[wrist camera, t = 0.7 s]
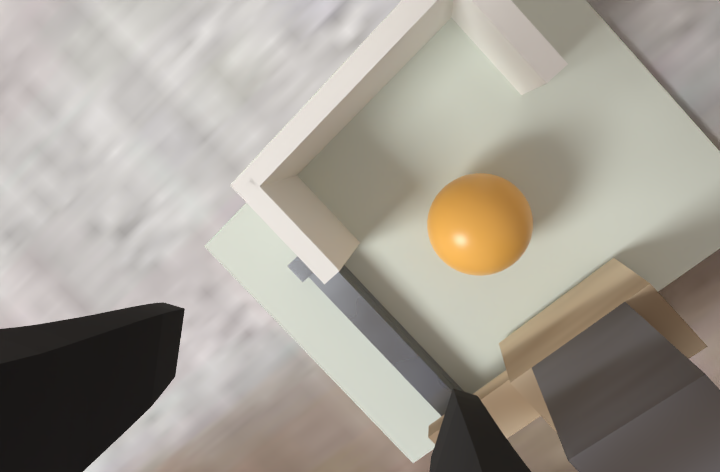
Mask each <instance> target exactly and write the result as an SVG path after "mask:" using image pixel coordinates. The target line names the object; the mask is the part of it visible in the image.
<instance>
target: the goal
mask: <svg viewBox="0 0 720 472" xmlns="http://www.w3.org/2000/svg"><path fill="white" fill-rule="evenodd" d="M450 18H452V19H453V20H454V21H455V22H456V23H457V24H458V25H459V27H460V28H461V29H462V30H463V31H464V32H465V33H466V34H467V35H468V37H469V38H470V39H471V40H472V41H473V42H474V43H475V44H476V45H477V46H478V48H479V49H480V50H481V51H482V52H483V53H484V54H485V55H486V56H487V58H488V59H489V60H490V61H491V62H492V63H493V64H494V65H495V66H496V67H497V69H498V70H499V71H500V72H501V73H502V74H503V75H504V76H505V77H506V79H507V80H508V81H509V82H510V83H511V84H512V85H513V86H514V87H515V89H516V90H517V91H518V92H519V93H520V94H521V95H523V94H525V93H527V92H530V91H532V90H534V89H536V88H538V87H540V86H542V85H544V84H547V83H548V82H549V81H550V80H551V79H552V78H553V77H554V76H555V75H557V74H558V73H559V72H560V71H561V70H562V69H563V68H564V67H565V66H567V65H568V63H567V62H566V61H565V60H564V59H563V58H562V57H561V56H560V54H559V53H558V52H557V51H556V50H555V49H554V48H553V47H552V45H551V44H550V43H549V42H548V41H547V40H546V39H545V38H544V37H543V35H542V34H541V33H540V32H539V31H538V30H537V29H536V28H535V26H534V25H533V24H532V23H531V22H530V21H529V20H528V19H527V18H526V16H525V15H524V14H523V13H522V12H521V11H520V10H519V9H518V7H517V6H516V5H515V4H514V3H513V2H512V1H511V0H402V1H401V2H400V3H399V4H398V5H397V6H396V7H395V8H394V9H393V10H392V11H391V12H390V13H389V15H388V16H387V17H386V18H385V19H384V20H383V21H382V22H381V23H380V24H379V25H378V26H377V27H376V28H375V30H374V31H373V32H372V33H371V34H370V35H369V36H368V37H367V38H366V39H365V40H364V41H363V42H362V44H361V45H360V46H359V47H358V48H357V49H356V50H355V51H354V52H353V53H352V54H351V55H350V56H349V58H348V59H347V60H346V61H345V62H344V63H343V64H342V65H341V66H340V67H339V68H338V69H337V70H336V72H335V73H334V74H333V75H332V76H331V77H330V78H329V79H328V80H327V81H326V82H325V83H324V84H323V86H322V87H321V88H320V89H319V90H318V91H317V92H316V93H315V94H314V95H313V96H312V97H311V98H310V100H309V101H308V102H307V103H306V104H305V105H304V106H303V107H302V108H301V109H300V110H299V111H298V112H297V114H296V115H295V116H294V117H293V118H292V119H291V120H290V121H289V122H288V123H287V124H286V125H285V126H284V127H283V129H282V130H281V131H280V132H279V133H278V134H277V135H276V136H275V137H274V138H273V139H272V140H271V141H270V143H269V144H268V145H267V146H266V147H265V148H264V149H263V150H262V151H261V152H260V153H259V154H258V155H257V157H256V158H255V159H254V160H253V161H252V162H251V163H250V164H249V165H248V166H247V167H246V168H245V169H244V171H243V172H242V173H241V174H240V175H239V176H238V177H237V178H236V179H235V180H234V181H233V182H232V183H231V185H230V186H231V187H232V188H233V189H234V190H235V191H236V192H237V193H238V194H239V195H240V196H241V197H242V198H243V200H244V201H245V202H246V203H247V204H248V205H249V206H250V207H251V208H252V209H253V210H254V211H255V212H256V213H257V214H258V215H259V216H260V217H261V218H262V219H263V221H264V222H265V223H266V224H267V225H268V226H269V227H270V228H271V229H272V230H273V231H274V232H275V233H276V234H277V235H278V236H279V237H280V238H281V239H282V240H283V242H284V243H285V244H286V245H287V246H288V247H289V248H290V249H291V250H292V251H293V252H294V253H295V254H296V255H297V256H298V257H299V258H300V259H301V260H302V261H303V263H304V264H305V265H306V266H307V267H308V268H309V269H310V270H311V271H312V272H313V273H314V274H315V275H316V276H317V277H318V278H319V279H320V280H321V281H322V282H323V284H324V285H325V284H326V283H327V282H328V281H329V280H330V279H331V278H332V277H333V276H334V275H336V274H337V273H338V272H339V271H340V270H341V268H342V267H343V266H344V264H345V263H346V261H347V260H348V259H349V257H350V256H351V254H352V253H353V252H354V250H355V249H356V248H357V246H358V245H359V243H360V242H359V241H358V240H357V239H356V238H355V237H354V235H353V234H352V233H351V232H350V231H349V230H348V229H347V228H346V227H345V226H344V225H343V224H342V223H341V222H340V221H339V220H338V219H337V217H336V216H335V215H334V214H333V213H332V212H331V211H330V210H329V209H328V208H327V207H326V206H325V205H324V204H323V203H322V202H321V200H320V199H319V198H318V197H317V196H316V195H315V194H314V193H313V192H312V191H311V190H310V189H309V188H308V187H307V186H306V185H305V183H304V182H303V181H302V180H301V179H300V178H299V177H298V176H297V175H298V174H299V173H300V172H301V171H302V170H303V169H304V168H305V167H306V166H307V165H308V164H309V162H310V161H311V160H312V159H313V158H314V157H315V156H316V155H317V154H318V153H319V152H320V151H321V150H322V149H323V148H324V147H325V146H326V145H327V144H328V143H329V142H330V141H331V140H332V139H333V138H334V137H335V136H336V135H337V134H338V133H339V132H340V131H341V130H342V129H343V128H344V127H345V126H346V125H347V124H348V123H349V122H350V121H351V120H352V119H353V118H354V116H355V115H356V114H357V113H358V112H359V111H360V110H361V109H362V108H363V107H364V106H365V105H366V104H367V103H368V102H369V101H370V100H371V99H372V98H373V97H374V96H375V95H376V94H377V93H378V92H379V91H380V90H381V89H382V88H383V87H384V86H385V85H386V84H387V83H388V82H389V81H390V80H391V79H392V78H393V77H394V76H395V75H396V74H397V73H398V72H399V71H400V69H401V68H402V67H403V66H404V65H405V64H406V63H407V62H408V61H409V60H410V59H411V58H412V57H413V56H414V55H415V54H416V53H417V52H418V51H419V50H420V49H421V48H422V47H423V46H424V45H425V44H426V43H427V42H428V41H429V40H430V39H431V38H432V37H433V36H434V35H435V34H436V33H437V32H438V31H439V30H440V29H441V28H442V27H443V26H444V25H445V24H446V22H447V21H448V20H449V19H450Z"/></svg>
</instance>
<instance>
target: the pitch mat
mask: <svg viewBox="0 0 720 472" xmlns="http://www.w3.org/2000/svg"><path fill="white" fill-rule="evenodd" d="M511 1H512V2H513V3H514V4H515V5H516V6H517V7H518V9H519V10H520V11H521V12H522V13H523V14H524V15H525V16H526V18H527V19H528V20H529V21H530V22H531V23H532V24H533V25H534V26H535V28H536V29H537V30H538V31H539V32H540V33H541V34H542V35H543V37H544V38H545V39H546V40H547V41H548V42H549V43H550V44H551V45H552V47H553V48H554V49H555V50H556V51H557V52H558V53H559V54H560V56H561V57H562V58H563V59H564V60H565V61H566V62H567V63H568V65H567V66H565V67H564V68H563V69H562V70H561V71H560V72H559V73H558V74H557V75H555V76H554V77H553V78H552V79H551V80H550V81H549V82H548V83H547V84H544V85H542V86H540V87H538V88H536V89H534V90H532V91H530V92H527V93H525V94H523V95H521V94H520V93H519V92H518V91H517V90H516V89H515V87H514V86H513V85H512V84H511V83H510V82H509V81H508V80H507V79H506V77H505V76H504V75H503V74H502V73H501V72H500V71H499V70H498V69H497V67H496V66H495V65H494V64H493V63H492V62H491V61H490V60H489V59H488V58H487V56H486V55H485V54H484V53H483V52H482V51H481V50H480V49H479V48H478V46H477V45H476V44H475V43H474V42H473V41H472V40H471V39H470V38H469V37H468V35H467V34H466V33H465V32H464V31H463V30H462V29H461V28H460V27H459V25H458V24H457V23H456V22H455V21H454V20H453V19H452V18H450V19H449V20H448V21H447V22H446V24H445V25H444V26H443V27H442V28H441V29H440V30H439V31H438V32H437V33H436V34H435V35H434V36H433V37H432V38H431V39H430V40H429V41H428V42H427V43H426V44H425V45H424V46H423V47H422V48H421V49H420V50H419V51H418V52H417V53H416V54H415V55H414V56H413V57H412V58H411V59H410V60H409V61H408V62H407V63H406V64H405V65H404V66H403V67H402V68H401V69H400V71H399V72H398V73H397V74H396V75H395V76H394V77H393V78H392V79H391V80H390V81H389V82H388V83H387V84H386V85H385V86H384V87H383V88H382V89H381V90H380V91H379V92H378V93H377V94H376V95H375V96H374V97H373V98H372V99H371V100H370V101H369V102H368V103H367V104H366V105H365V106H364V107H363V108H362V109H361V110H360V111H359V112H358V113H357V114H356V115H355V116H354V118H353V119H352V120H351V121H350V122H349V123H348V124H347V125H346V126H345V127H344V128H343V129H342V130H341V131H340V132H339V133H338V134H337V135H336V136H335V137H334V138H333V139H332V140H331V141H330V142H329V143H328V144H327V145H326V146H325V147H324V148H323V149H322V150H321V151H320V152H319V153H318V154H317V155H316V156H315V157H314V158H313V159H312V160H311V161H310V162H309V164H308V165H307V166H306V167H305V168H304V169H303V170H302V171H301V172H300V173H299V174H298V175H297V176H298V177H299V178H300V179H301V180H302V181H303V182H304V183H305V185H306V186H307V187H308V188H309V189H310V190H311V191H312V192H313V193H314V194H315V195H316V196H317V197H318V198H319V199H320V200H321V202H322V203H323V204H324V205H325V206H326V207H327V208H328V209H329V210H330V211H331V212H332V213H333V214H334V215H335V216H336V217H337V219H338V220H339V221H340V222H341V223H342V224H343V225H344V226H345V227H346V228H347V229H348V230H349V231H350V232H351V233H352V234H353V235H354V237H355V238H356V239H357V240H358V241H359V242H360V243H359V245H358V246H357V248H356V249H355V250H354V252H353V253H352V254H351V256H350V257H349V259H348V260H347V261H346V263H345V264H344V265H345V266H346V267H347V268H348V269H349V270H350V271H351V272H352V273H353V275H354V276H355V277H356V278H357V279H358V280H359V281H360V282H361V283H362V284H363V285H364V286H365V287H366V288H367V289H368V290H369V291H370V292H371V294H372V295H373V296H374V297H375V298H376V299H377V300H378V301H379V302H380V303H381V304H382V305H383V306H384V307H385V308H386V309H387V310H388V311H389V313H390V314H391V315H392V316H393V317H394V318H395V319H396V320H397V321H398V322H399V323H400V324H401V325H402V326H403V327H404V328H405V329H406V330H407V332H408V333H409V334H410V335H411V336H412V337H413V338H414V339H415V340H416V341H417V342H418V343H419V344H420V345H421V346H422V347H423V348H424V349H425V351H426V352H427V353H428V354H429V355H430V356H431V357H432V358H433V359H434V360H435V361H436V362H437V363H438V364H439V365H440V366H441V367H442V368H443V370H444V371H445V372H446V373H447V374H448V375H449V376H450V377H451V378H452V379H453V380H454V381H455V382H456V383H457V384H458V385H459V386H460V387H461V389H462V390H463V391H464V392H467V393H470V394H473V393H475V392H476V391H478V390H479V389H480V388H482V387H483V386H485V385H486V384H487V383H489V382H490V381H491V380H493V379H494V378H496V377H497V376H498V375H500V374H501V373H503V372H504V371H505V370H506V367H505V364H504V360H503V356H502V353H501V349H500V346H499V343H500V342H501V341H502V340H504V339H505V338H506V337H508V336H509V335H510V334H512V333H513V332H514V331H516V330H517V329H518V328H520V327H521V326H522V325H524V324H525V323H527V322H528V321H529V320H531V319H532V318H533V317H535V316H536V315H537V314H539V313H540V312H541V311H543V310H544V309H545V308H547V307H548V306H549V305H551V304H552V303H553V302H555V301H556V300H557V299H559V298H560V297H561V296H563V295H564V294H565V293H567V292H568V291H569V290H571V289H572V288H574V287H575V286H576V285H578V284H579V283H580V282H582V281H583V280H584V279H586V278H587V277H588V276H590V275H591V274H592V273H594V272H595V271H596V270H598V269H599V268H600V267H602V266H603V265H604V264H606V263H607V262H608V261H610V260H611V259H612V258H615V259H616V260H618V261H619V262H621V263H622V264H623V265H625V266H626V267H628V268H629V269H631V270H632V271H633V272H635V273H636V274H638V275H639V276H640V277H642V278H643V279H645V280H646V281H647V282H649V283H650V284H651V285H652V286H653V287H654V288H655V289H656V290H657V292H658V291H660V290H661V289H663V288H664V287H666V286H667V285H668V284H670V283H671V282H673V281H674V280H676V279H677V278H678V277H680V276H681V275H683V274H684V273H686V272H687V271H688V270H690V269H691V268H693V267H694V266H696V265H697V264H698V263H700V262H701V261H703V260H704V259H706V258H707V257H708V256H710V255H711V254H713V253H714V252H716V251H717V250H718V249H720V151H719V150H718V149H717V148H716V147H715V146H714V144H713V143H712V142H711V141H710V140H709V139H708V138H707V136H706V135H705V134H704V133H703V132H702V131H701V130H700V129H699V127H698V126H697V125H696V124H695V123H694V122H693V121H692V120H691V118H690V117H689V116H688V115H687V114H686V113H685V112H684V110H683V109H682V108H681V107H680V106H679V105H678V104H677V103H676V101H675V100H674V99H673V98H672V97H671V96H670V95H669V93H668V92H667V91H666V90H665V89H664V88H663V87H662V86H661V84H660V83H659V82H658V81H657V80H656V79H655V78H654V77H653V75H652V74H651V73H650V72H649V71H648V70H647V69H646V67H645V66H644V65H643V64H642V63H641V62H640V61H639V60H638V58H637V57H636V56H635V55H634V54H633V53H632V52H631V51H630V49H629V48H628V47H627V46H626V45H625V44H624V43H623V41H622V40H621V39H620V38H619V37H618V36H617V35H616V34H615V32H614V31H613V30H612V29H611V28H610V27H609V26H608V24H607V23H606V22H605V21H604V20H603V19H602V18H601V17H600V15H599V14H598V13H597V12H596V11H595V10H594V9H593V8H592V6H591V5H590V4H589V3H588V2H587V1H586V0H511ZM474 173H486V174H492V175H497V176H499V177H502V178H504V179H506V180H508V181H510V182H511V183H512V184H514V185H515V186H516V187H517V188H518V189H519V190H520V191H521V192H522V193H523V195H524V196H525V198H526V199H527V201H528V203H529V205H530V208H531V211H532V216H533V232H532V237H531V240H530V243H529V245H528V247H527V249H526V251H525V252H524V254H523V255H522V256H521V257H520V259H519V260H518V261H516V262H515V263H514V264H513V265H511V266H510V267H509V268H507V269H505V270H503V271H501V272H498V273H495V274H491V275H484V276H475V275H468V274H464V273H461V272H459V271H457V270H455V269H453V268H451V267H450V266H448V265H447V264H446V263H445V262H443V261H442V260H441V259H440V257H439V256H438V255H437V254H436V252H435V251H434V249H433V247H432V245H431V243H430V239H429V236H428V230H427V219H428V213H429V210H430V207H431V205H432V202H433V201H434V199H435V197H436V196H437V194H438V193H439V192H440V191H441V190H442V189H443V188H444V187H445V186H446V185H447V184H449V183H450V182H451V181H453V180H455V179H457V178H459V177H461V176H465V175H468V174H474ZM204 247H205V248H206V249H207V250H208V251H209V252H210V253H211V254H212V255H213V256H214V257H215V258H216V259H217V260H218V261H219V262H220V263H221V264H222V265H223V266H224V267H225V268H226V270H227V271H228V272H229V273H230V274H231V275H232V276H233V277H234V278H235V279H236V280H237V281H238V282H239V283H240V284H241V285H242V286H243V287H244V288H245V289H246V290H247V291H248V292H249V293H250V294H251V295H252V297H253V298H254V299H255V300H256V301H257V302H258V303H259V304H260V305H261V306H262V307H263V308H264V309H265V310H266V311H267V312H268V313H269V314H270V315H271V316H272V317H273V318H274V319H275V320H276V321H277V322H278V324H279V325H280V326H281V327H282V328H283V329H284V330H285V331H286V332H287V333H288V334H289V335H290V336H291V337H292V338H293V339H294V340H295V341H296V342H297V343H298V344H299V345H300V346H301V347H302V348H303V349H304V351H305V352H306V353H307V354H308V355H309V356H310V357H311V358H312V359H313V360H314V361H315V362H316V363H317V364H318V365H319V366H320V367H321V368H322V369H323V370H324V371H325V372H326V373H327V374H328V375H329V376H330V377H331V379H332V380H333V381H334V382H335V383H336V384H337V385H338V386H339V387H340V388H341V389H342V390H343V391H344V392H345V393H346V394H347V395H348V396H349V397H350V398H351V399H352V400H353V401H354V402H355V403H356V404H357V406H358V407H359V408H360V409H361V410H362V411H363V412H364V413H365V414H366V415H367V416H368V417H369V418H370V419H371V420H372V421H373V422H374V423H375V424H376V425H377V426H378V427H379V428H380V429H381V430H382V431H383V433H384V434H385V435H386V436H387V437H388V438H389V439H390V440H391V441H392V442H393V443H394V444H395V445H396V446H397V447H398V448H399V449H400V450H401V451H402V452H403V453H404V454H405V455H406V456H407V457H408V458H409V460H410V461H411V462H412V463H414V462H416V461H417V460H419V459H420V458H421V457H423V456H424V455H426V454H427V453H429V452H430V451H431V450H433V449H434V447H435V444H434V443H433V442H432V441H431V440H430V439H429V438H428V428H429V425H430V424H432V423H433V422H435V421H436V420H437V419H439V418H440V417H442V416H441V415H440V414H439V413H438V412H437V411H436V410H435V409H434V408H433V407H432V406H431V405H430V404H429V403H428V402H427V401H426V400H425V399H424V398H423V396H422V395H421V394H420V393H419V392H418V391H417V390H416V389H415V388H414V387H413V386H412V385H411V384H410V383H409V382H408V381H407V380H406V379H405V378H404V377H403V376H402V374H401V373H400V372H399V371H398V370H397V369H396V368H395V367H394V366H393V365H392V364H391V363H390V362H389V361H388V360H387V359H386V358H385V357H384V356H383V355H382V353H381V352H380V351H379V350H378V349H377V348H376V347H375V346H374V345H373V344H372V343H371V342H370V341H369V340H368V339H367V338H366V337H365V336H364V335H363V334H362V332H361V331H360V330H359V329H358V328H357V327H356V326H355V325H354V324H353V323H352V322H351V321H350V320H349V319H348V318H347V317H346V316H345V315H344V314H343V313H342V312H341V310H340V309H339V308H338V307H337V306H336V305H335V304H334V303H333V302H332V301H331V300H330V299H329V298H328V297H327V296H326V295H325V294H324V293H323V292H322V291H321V289H320V288H319V287H318V286H317V285H316V284H315V283H314V282H313V281H312V280H311V279H310V278H309V277H308V278H307V279H306V280H305V281H304V282H302V281H301V280H300V279H299V278H298V277H297V276H296V275H295V274H294V273H293V272H292V271H291V270H290V269H289V268H288V267H287V266H288V265H289V264H290V263H291V262H292V261H293V260H294V259H295V258H296V257H297V255H296V254H295V253H294V252H293V251H292V250H291V249H290V248H289V247H288V246H287V245H286V244H285V243H284V242H283V240H282V239H281V238H280V237H279V236H278V235H277V234H276V233H275V232H274V231H273V230H272V229H271V228H270V227H269V226H268V225H267V224H266V223H265V222H264V221H263V219H262V218H261V217H260V216H259V215H258V214H257V213H256V212H255V211H254V210H253V209H252V208H251V207H250V206H249V205H248V204H247V203H245V204H244V205H243V207H242V208H241V209H240V210H239V211H238V212H237V213H236V214H235V215H234V216H233V217H232V218H231V219H230V220H229V221H228V222H227V223H226V224H225V225H224V226H223V227H222V228H221V229H220V231H219V232H218V233H217V234H216V235H215V236H214V237H213V238H212V239H211V240H210V241H209V242H208V243H207V244H206V245H205V246H204Z"/></svg>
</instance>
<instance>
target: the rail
mask: <svg viewBox="0 0 720 472" xmlns="http://www.w3.org/2000/svg"><path fill="white" fill-rule="evenodd" d="M287 267H288V268H289V269H290V270H291V271H292V272H293V273H294V274H295V275H296V276H297V277H298V278H299V279H300V280H301V281H302V282H304V281H305V280H306V279H307V278H308V277H309V278H310V279H311V280H312V281H313V282H314V283H315V284H316V285H317V286H318V287H319V288H320V289H321V291H322V292H323V293H324V294H325V295H326V296H327V297H328V298H329V299H330V300H331V301H332V302H333V303H334V304H335V305H336V306H337V307H338V308H339V309H340V310H341V312H342V313H343V314H344V315H345V316H346V317H347V318H348V319H349V320H350V321H351V322H352V323H353V324H354V325H355V326H356V327H357V328H358V329H359V330H360V331H361V332H362V334H363V335H364V336H365V337H366V338H367V339H368V340H369V341H370V342H371V343H372V344H373V345H374V346H375V347H376V348H377V349H378V350H379V351H380V352H381V353H382V355H383V356H384V357H385V358H386V359H387V360H388V361H389V362H390V363H391V364H392V365H393V366H394V367H395V368H396V369H397V370H398V371H399V372H400V373H401V374H402V376H403V377H404V378H405V379H406V380H407V381H408V382H409V383H410V384H411V385H412V386H413V387H414V388H415V389H416V390H417V391H418V392H419V393H420V394H421V395H422V396H423V398H424V399H425V400H426V401H427V402H428V403H429V404H430V405H431V406H432V407H433V408H434V409H435V410H436V411H437V412H438V413H439V414H440V415H441V416H443V415H444V414H445V412H446V409H447V405H448V402H449V399H450V396H451V393H452V389H457V390H460V391H463V390H462V389H461V387H460V386H459V385H458V384H457V383H456V382H455V381H454V380H453V379H452V378H451V377H450V376H449V375H448V374H447V373H446V372H445V371H444V370H443V368H442V367H441V366H440V365H439V364H438V363H437V362H436V361H435V360H434V359H433V358H432V357H431V356H430V355H429V354H428V353H427V352H426V351H425V349H424V348H423V347H422V346H421V345H420V344H419V343H418V342H417V341H416V340H415V339H414V338H413V337H412V336H411V335H410V334H409V333H408V332H407V330H406V329H405V328H404V327H403V326H402V325H401V324H400V323H399V322H398V321H397V320H396V319H395V318H394V317H393V316H392V315H391V314H390V313H389V311H388V310H387V309H386V308H385V307H384V306H383V305H382V304H381V303H380V302H379V301H378V300H377V299H376V298H375V297H374V296H373V295H372V294H371V292H370V291H369V290H368V289H367V288H366V287H365V286H364V285H363V284H362V283H361V282H360V281H359V280H358V279H357V278H356V277H355V276H354V275H353V273H352V272H351V271H350V270H349V269H348V268H347V267H346V266H345V265H344V266H343V267H342V268H341V270H340V271H339V272H338V273H337V274H336V275H334V276H333V277H332V278H331V279H330V280H329V281H328V282H327V283H326V284H325V285H324V284H323V282H322V281H321V280H320V279H319V278H318V277H317V276H316V275H315V274H314V273H313V272H312V271H311V270H310V269H309V268H308V267H307V266H306V265H305V264H304V263H303V261H302V260H301V259H300V258H299V257H298V256H297V257H296V258H295V259H294V260H293V261H292V262H291V263H290V264H289V265H288V266H287ZM463 392H464V391H463Z"/></svg>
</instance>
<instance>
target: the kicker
mask: <svg viewBox="0 0 720 472" xmlns="http://www.w3.org/2000/svg"><path fill="white" fill-rule="evenodd" d="M499 346H500V349H501V353H502V356H503V360H504V364H505V367H506V370H505V371H504V372H503V373H501V374H500V375H498V376H497V377H496V378H494V379H493V380H491V381H490V382H489V383H487V384H486V385H485V386H483V387H482V388H480V389H479V390H478V391H476V392H475V393H473V395H477V396H478V397H479V399H480V400H481V401H482V403H483V404H484V406H485V407H486V409H487V410H488V412H489V413H490V415H491V416H492V418H493V419H494V421H495V422H496V424H497V425H498V427H499V428H500V430H501V431H502V433H503V434H504V436H505V437H506V439H507V438H508V437H510V436H511V435H513V434H514V433H516V432H517V431H519V430H520V429H522V428H523V427H525V426H526V425H528V424H529V423H531V422H532V421H534V420H535V419H537V418H538V417H540V416H542V418H543V419H544V420H545V421H546V422H547V423H548V424H549V425H550V426H551V427H552V428H553V429H554V430H555V431H556V432H557V434H558V436H559V439H560V441H561V444H562V446H563V449H564V451H565V454H566V456H567V459H568V461H569V462H570V463H571V464H572V465H573V466H574V467H575V468H576V469H577V470H578V471H579V472H720V390H719V389H718V387H717V386H716V385H715V384H714V383H713V382H712V381H711V380H710V379H709V378H708V377H707V375H706V374H705V373H703V372H702V371H701V370H700V369H699V368H698V367H697V366H696V365H695V364H694V363H692V362H691V361H690V360H689V358H690V357H692V356H694V355H695V354H697V353H698V352H700V351H701V350H703V349H704V348H706V347H707V345H706V344H705V343H704V342H703V341H702V340H701V339H700V338H699V337H698V336H697V334H696V333H695V332H694V331H693V330H692V329H691V328H690V327H689V326H688V325H687V323H686V322H685V321H684V320H683V319H682V318H681V317H680V316H679V315H678V314H677V312H676V311H675V310H674V309H673V308H672V307H671V306H670V305H669V304H668V303H667V301H666V300H665V299H664V298H663V297H662V296H661V295H660V294H659V293H658V292H657V290H656V289H655V288H654V287H653V286H652V285H651V284H650V283H649V282H647V281H646V280H645V279H643V278H642V277H640V276H639V275H638V274H636V273H635V272H633V271H632V270H631V269H629V268H628V267H626V266H625V265H623V264H622V263H621V262H619V261H618V260H616V259H615V258H612V259H611V260H610V261H608V262H607V263H606V264H604V265H603V266H602V267H600V268H599V269H598V270H596V271H595V272H594V273H592V274H591V275H590V276H588V277H587V278H586V279H584V280H583V281H582V282H580V283H579V284H578V285H576V286H575V287H574V288H572V289H571V290H569V291H568V292H567V293H565V294H564V295H563V296H561V297H560V298H559V299H557V300H556V301H555V302H553V303H552V304H551V305H549V306H548V307H547V308H545V309H544V310H543V311H541V312H540V313H539V314H537V315H536V316H535V317H533V318H532V319H531V320H529V321H528V322H527V323H525V324H524V325H522V326H521V327H520V328H518V329H517V330H516V331H514V332H513V333H512V334H510V335H509V336H508V337H506V338H505V339H504V340H502V341H501V342H500V343H499ZM444 415H445V414H444ZM444 415H443V416H442V417H440V418H439V419H437V420H436V421H435V422H433V423H432V424H430V425H429V428H428V438H429V439H430V440H431V441H432V442H433V443H434V444H436V440H437V437H438V434H439V431H440V428H441V424H442V421H443V418H444Z"/></svg>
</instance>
